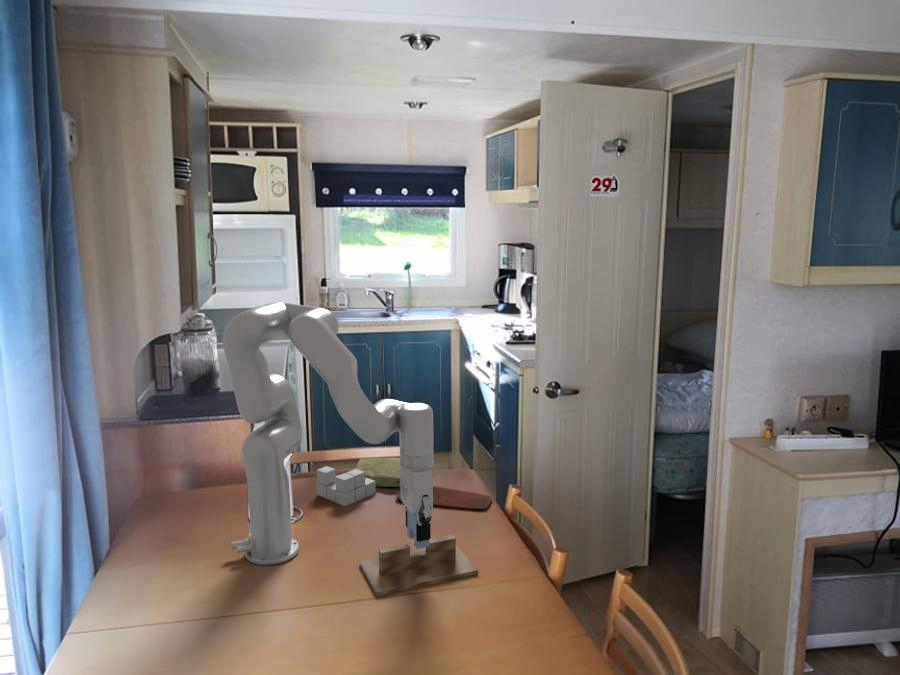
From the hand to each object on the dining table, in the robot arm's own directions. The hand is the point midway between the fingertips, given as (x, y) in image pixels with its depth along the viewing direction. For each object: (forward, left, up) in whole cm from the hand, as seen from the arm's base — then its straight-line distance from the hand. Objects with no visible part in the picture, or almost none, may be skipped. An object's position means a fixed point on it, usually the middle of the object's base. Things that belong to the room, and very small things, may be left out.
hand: (417, 532), depth 156 cm
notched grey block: (0, 0, -2) cm, 2 cm away
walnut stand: (0, 0, -9) cm, 9 cm away
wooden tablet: (+19, +33, -9) cm, 39 cm away
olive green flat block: (+9, +55, -9) cm, 56 cm away
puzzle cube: (-5, +48, -10) cm, 49 cm away
